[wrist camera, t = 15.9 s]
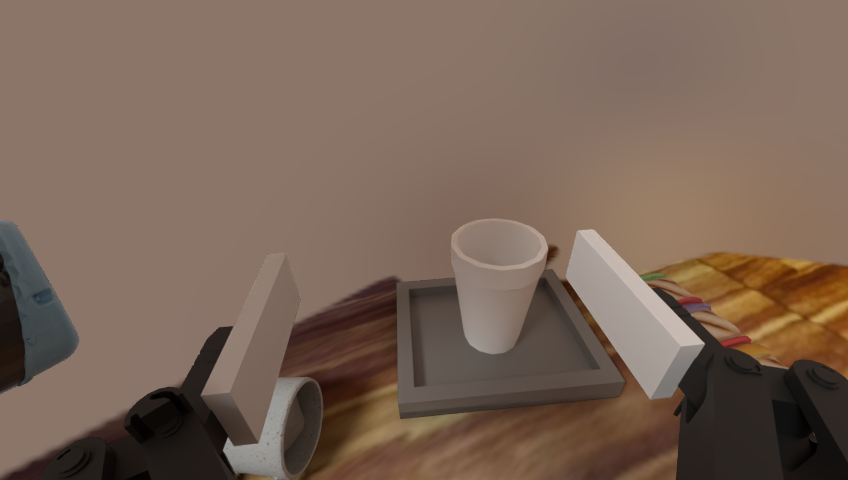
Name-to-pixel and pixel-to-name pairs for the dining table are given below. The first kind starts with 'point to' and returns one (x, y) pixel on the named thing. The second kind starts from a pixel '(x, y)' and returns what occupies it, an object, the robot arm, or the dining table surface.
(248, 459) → the ceramic mug
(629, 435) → the dining table surface
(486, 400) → the cafeteria tray
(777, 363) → the skewer
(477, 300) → the foam cup
